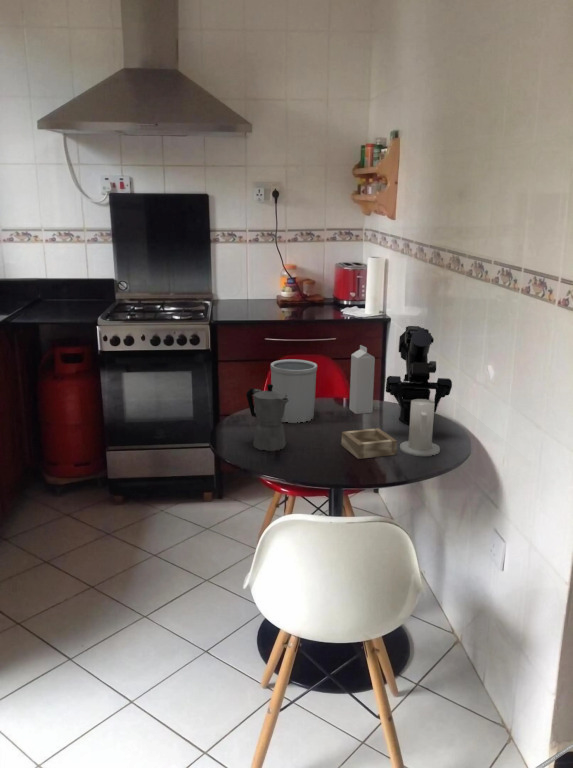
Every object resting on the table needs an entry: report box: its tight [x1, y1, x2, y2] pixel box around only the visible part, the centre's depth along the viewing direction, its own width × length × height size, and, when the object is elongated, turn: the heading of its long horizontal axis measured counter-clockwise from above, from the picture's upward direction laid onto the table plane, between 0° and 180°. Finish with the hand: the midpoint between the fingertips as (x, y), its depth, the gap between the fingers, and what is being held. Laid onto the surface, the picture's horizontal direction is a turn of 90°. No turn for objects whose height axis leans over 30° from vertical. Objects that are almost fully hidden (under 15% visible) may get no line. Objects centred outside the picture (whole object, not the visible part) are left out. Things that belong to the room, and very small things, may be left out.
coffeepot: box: [245, 383, 289, 452], centre depth 188 cm, size 15×9×18 cm, turn 49°
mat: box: [399, 440, 441, 457], centre depth 188 cm, size 11×11×1 cm
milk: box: [348, 344, 376, 415], centre depth 221 cm, size 6×6×22 cm
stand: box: [340, 427, 398, 460], centre depth 187 cm, size 11×11×4 cm
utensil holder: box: [270, 358, 318, 424], centre depth 214 cm, size 15×15×18 cm
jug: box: [408, 399, 435, 451], centre depth 185 cm, size 9×6×13 cm
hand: (418, 411), depth 193 cm, fingers open, 9 cm apart
